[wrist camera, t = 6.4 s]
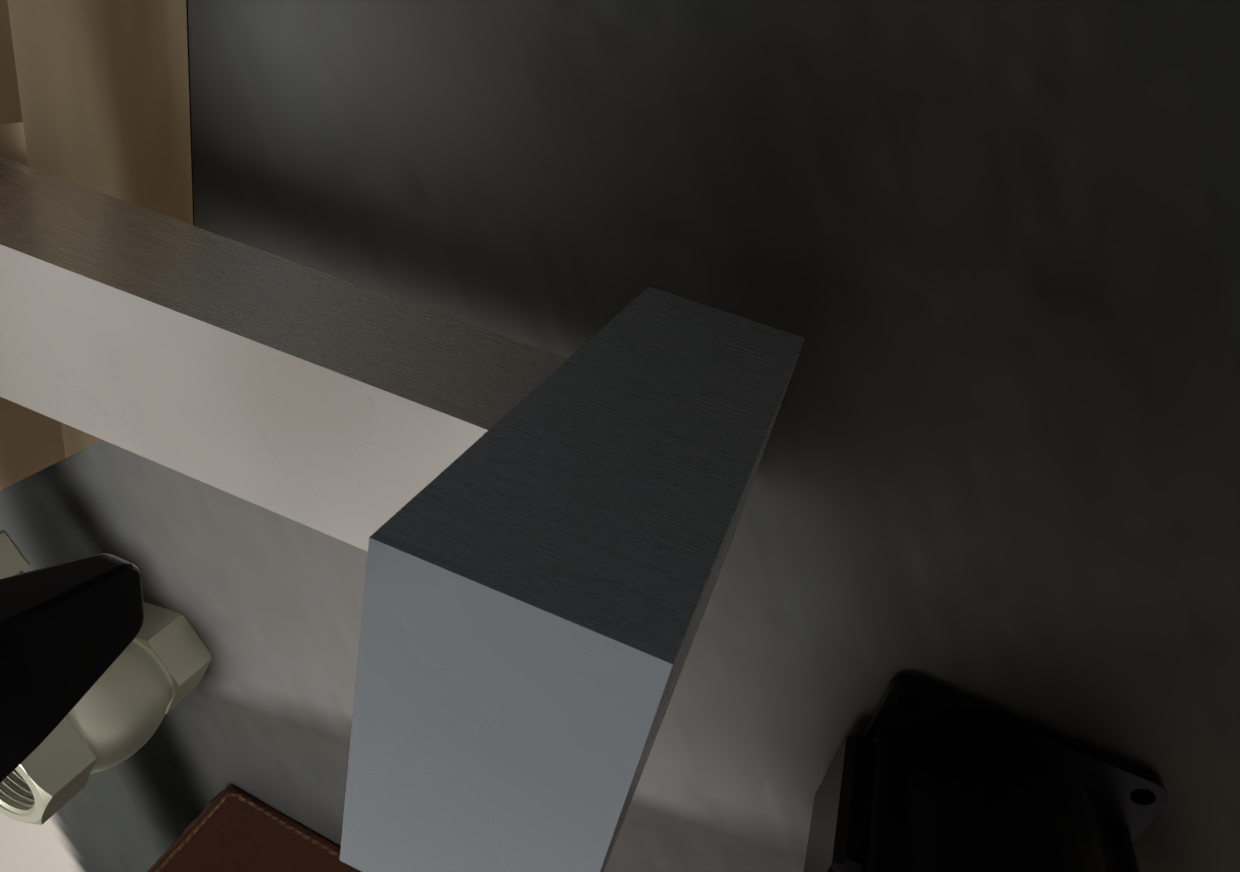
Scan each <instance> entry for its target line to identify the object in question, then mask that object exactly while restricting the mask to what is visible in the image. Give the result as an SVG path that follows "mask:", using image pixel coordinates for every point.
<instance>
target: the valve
mask: <svg viewBox="0 0 1240 872" xmlns="http://www.w3.org/2000/svg"><path fill="white" fill-rule="evenodd" d="M28 566H29V562H28V561H27V560H26V558H25V557H24V556H23V554H22V553H21V552H20V550H19V549H18V547H17V546H16V545H15V543H14V542H13V541H12V539H11V538H10V537H9V535H8V534H7V532H6V531H5V530H2V531H0V579H3V578H7V577H10V576H14V575H18V574H22V573H23V572H22V570H23V569H25V568H27V567H28ZM143 603H144V622H143V625H142V627H141V629H140V631H139V633H138V634H137V636H136V637H135V639H134V640H133V641H132V642H131V643H130V644H129V646H128V647H127V648H126V649H125V650H124V651H123V652H122V653H121V655H120V656H119V657H118V658H117V659H116V660H115V661H114V662H113V664H112V665H111V666H110V667H109V668H108V669H107V670H106V671H105V673H104V674H103V675H102V676H101V677H100V678H99V679H98V681H97V682H96V683H95V684H94V685H93V686H92V687H91V688H90V690H89V691H88V692H87V693H86V694H85V695H84V696H83V697H82V699H81V700H80V701H79V702H78V703H77V704H76V705H75V707H74V708H73V709H72V710H71V711H70V712H69V713H68V714H67V716H66V717H65V718H64V719H63V720H62V721H61V722H60V723H59V725H58V726H57V727H56V728H55V729H54V730H53V731H52V732H51V733H50V734H49V735H48V736H47V738H46V739H45V740H44V741H43V742H42V743H41V744H40V745H39V746H38V747H37V748H36V749H35V750H34V751H33V752H32V753H31V754H30V755H29V756H28V757H27V758H26V759H25V760H24V761H23V762H22V763H21V764H20V765H19V766H18V767H17V768H16V769H14V770H13V771H12V772H11V773H10V774H9V775H8V776H7V777H6V778H5V779H4V780H3V781H2V782H1V783H0V812H1V813H3V814H5V815H7V816H8V817H11V818H13V819H15V820H18V821H22V822H26V823H32V824H41V825H42V824H43V823H44V822H45V821H47V820H48V819H49V818H50V817H51V816H52V815H53V814H54V813H56V812H57V811H58V810H59V809H60V808H61V807H62V806H63V805H65V804H66V803H67V802H68V801H69V800H70V799H71V798H72V797H74V796H75V795H76V794H77V793H78V792H79V791H80V790H81V789H83V788H84V787H85V785H86V783H87V780H88V778H89V775H90V774H93V773H97V772H100V771H103V770H106V769H108V768H111V767H113V766H115V765H117V764H119V763H121V762H122V761H124V760H126V759H127V758H129V757H130V756H131V755H133V754H134V753H135V752H136V751H138V750H139V749H140V748H141V747H142V746H143V745H144V744H145V743H146V742H147V741H148V740H149V739H150V738H151V737H152V735H153V734H154V733H155V731H156V730H157V728H158V726H159V725H160V723H161V721H162V720H163V718H164V715H165V714H167V713H168V712H169V711H170V710H171V709H172V708H174V707H175V706H176V705H177V704H178V703H179V702H180V701H181V700H183V699H184V698H185V697H186V696H187V695H188V694H189V693H190V692H192V691H193V690H194V689H195V688H196V687H197V686H198V685H199V684H200V682H201V680H202V678H203V676H204V674H205V672H206V670H207V668H208V666H209V664H210V662H211V660H212V656H211V654H210V652H209V651H208V649H207V648H206V646H205V645H204V644H203V642H202V641H201V639H200V638H199V636H198V635H197V633H196V632H195V631H194V629H193V628H192V626H191V625H190V623H189V622H188V620H187V619H186V617H185V616H183V615H182V614H181V613H179V612H176V611H172V610H169V609H166V608H163V607H159V606H156V605H153V604H150V603H146V602H143Z"/></svg>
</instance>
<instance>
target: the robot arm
mask: <svg viewBox="0 0 1240 872" xmlns="http://www.w3.org/2000/svg"><path fill="white" fill-rule="evenodd" d="M143 622H144V603H143V591H142V579H141V573H140V570H139V569H138V567H137V566H136V565H134V564H133V563H130V562H128V561H126V560H124V559H121V558H119V557H117V556H115V555H112V554H107V553H102V554H96V555H91V556H88V557H84V558H80V559H76V560H72V561H68V562H64V563H61V564H57V565H53V566H49V567H45V568H41V569H37V570H34V571H30V572H26V573H22V574H18V575H14V576H10V577H7V578H3V579H0V783H1V782H2V781H3V780H4V779H5V778H6V777H7V776H8V775H9V774H10V773H11V772H12V771H13V770H14V769H16V768H17V767H18V766H19V765H20V764H21V763H22V762H23V761H24V760H25V759H26V758H27V757H28V756H29V755H30V754H31V753H32V752H33V751H34V750H35V749H36V748H37V747H38V746H39V745H40V744H41V743H42V742H43V741H44V740H45V739H46V738H47V736H48V735H49V734H50V733H51V732H52V731H53V730H54V729H55V728H56V727H57V726H58V725H59V723H60V722H61V721H62V720H63V719H64V718H65V717H66V716H67V714H68V713H69V712H70V711H71V710H72V709H73V708H74V707H75V705H76V704H77V703H78V702H79V701H80V700H81V699H82V697H83V696H84V695H85V694H86V693H87V692H88V691H89V690H90V688H91V687H92V686H93V685H94V684H95V683H96V682H97V681H98V679H99V678H100V677H101V676H102V675H103V674H104V673H105V671H106V670H107V669H108V668H109V667H110V666H111V665H112V664H113V662H114V661H115V660H116V659H117V658H118V657H119V656H120V655H121V653H122V652H123V651H124V650H125V649H126V648H127V647H128V646H129V644H130V643H131V642H132V641H133V640H134V639H135V637H136V636H137V634H138V633H139V631H140V629H141V627H142V625H143ZM903 694H912V695H914V696H916V697H917V698H915V699H906V698H904V697H902V696H901V695H903ZM1141 788H1143V789H1148V790H1147V791H1144V792H1137V791H1134V790H1135V789H1141ZM1167 801H1168V796H1167V792H1166V789H1165V786H1164V782H1163V780H1162V779H1161V777H1160V776H1159V775H1158V774H1157V773H1155V772H1153V771H1152V770H1150V769H1147V768H1144V767H1142V766H1139V765H1137V764H1134V763H1132V762H1129V761H1127V760H1124V759H1122V758H1119V757H1117V756H1114V755H1112V754H1109V753H1107V752H1104V751H1102V750H1099V749H1097V748H1094V747H1092V746H1089V745H1087V744H1084V743H1082V742H1079V741H1077V740H1074V739H1072V738H1069V737H1067V736H1064V735H1062V734H1059V733H1057V732H1054V731H1052V730H1049V729H1047V728H1044V727H1042V726H1039V725H1037V724H1034V723H1032V722H1029V721H1027V720H1024V719H1022V718H1019V717H1017V716H1014V715H1012V714H1009V713H1007V712H1004V711H1002V710H999V709H997V708H994V707H992V706H989V705H987V704H984V703H981V702H979V701H976V700H974V699H971V698H969V697H966V696H964V695H961V694H959V693H956V692H954V691H951V690H949V689H946V688H944V687H941V686H939V685H936V684H934V683H931V682H929V681H926V680H924V679H921V678H919V677H916V676H912V675H900V676H898V677H896V678H894V679H893V680H892V681H891V682H890V683H889V685H888V686H887V688H886V690H885V692H884V694H883V696H882V698H881V699H880V701H879V703H878V705H877V707H876V709H875V711H874V712H873V714H872V716H871V718H870V720H869V722H868V724H867V725H866V727H865V729H864V731H863V733H862V734H860V733H858V732H854V733H852V734H850V735H848V736H846V737H845V739H844V741H843V743H842V745H841V747H840V749H839V750H838V752H837V754H836V756H835V758H834V760H833V762H832V764H831V766H830V768H829V769H828V771H827V773H826V775H825V777H824V779H823V781H822V783H821V785H820V787H819V788H818V790H817V792H816V795H815V799H814V806H813V812H812V819H811V826H810V832H809V839H808V846H807V853H806V859H805V866H804V872H1140V869H1139V865H1138V861H1137V857H1136V853H1135V849H1134V846H1133V843H1134V842H1135V841H1136V840H1137V838H1138V837H1139V836H1140V835H1141V834H1142V833H1143V831H1144V830H1145V829H1146V828H1147V827H1148V826H1149V824H1150V823H1151V822H1152V821H1153V820H1154V819H1155V818H1156V816H1157V815H1158V814H1159V813H1160V812H1161V811H1162V809H1163V808H1164V807H1165V806H1166V804H1167Z"/></svg>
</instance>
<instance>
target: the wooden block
mask: <svg viewBox="0 0 1240 872" xmlns="http://www.w3.org/2000/svg"><path fill="white" fill-rule="evenodd" d="M0 157H3V158H6V159H8V160H11V161H14V162H17V163H20V164H22V165H25V166H28V167H31V168H34V169H36V170H39V171H42V172H45V173H48V174H50V175H53V176H56V177H59V178H62V179H64V180H67V181H70V182H73V183H76V184H78V185H81V186H84V187H87V188H90V189H92V190H95V191H98V192H101V193H104V194H106V195H109V196H112V197H115V198H118V199H120V200H123V201H126V202H129V203H132V204H134V205H137V206H140V207H143V208H146V209H148V210H151V211H154V212H157V213H160V214H162V215H165V216H168V217H171V218H174V219H176V220H179V221H182V222H185V223H188V224H190V225H193V201H192V170H191V138H190V107H189V76H188V45H187V14H186V0H0ZM100 441H102V439H100V438H97V437H95V436H93V435H90V434H88V433H85V432H83V431H81V430H78V429H76V428H74V427H71V426H69V425H66V424H64V423H62V422H59V421H57V420H55V419H52V418H50V417H47V416H45V415H43V414H40V413H38V412H36V411H33V410H31V409H29V408H26V407H24V406H21V405H19V404H17V403H14V402H12V401H10V400H7V399H5V398H2V397H0V490H2V489H4V488H6V487H8V486H10V485H12V484H14V483H16V482H18V481H21V480H23V479H25V478H27V477H29V476H31V475H33V474H35V473H37V472H39V471H41V470H43V469H45V468H47V467H49V466H51V465H53V464H55V463H57V462H59V461H61V460H63V459H65V458H67V457H69V456H71V455H74V454H76V453H78V452H80V451H82V450H84V449H86V448H88V447H90V446H92V445H94V444H96V443H98V442H100Z"/></svg>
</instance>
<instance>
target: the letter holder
mask: <svg viewBox="0 0 1240 872" xmlns="http://www.w3.org/2000/svg"><path fill="white" fill-rule="evenodd" d="M340 849H341V847H340V846H338V845H336V844H334V843H332V842H331V841H329V840H327V839H325V838H323V837H322V836H320V835H318V834H316V833H315V832H313V831H311V830H310V829H308V828H306V827H304V826H303V825H301V824H299V823H298V822H296V821H294V820H292V819H291V818H289V817H287V816H285V815H283V814H281V813H280V812H278V811H276V810H274V809H273V808H271V807H269V806H268V805H266V804H264V803H262V802H261V801H259V800H257V799H255V798H253V797H252V796H250V795H248V794H246V793H245V792H243V791H241V790H240V789H238V788H236V787H235V786H233V785H230V786H228V787H227V788H226V789H224V790H223V791H221V792H220V793H219V794H218V795H217V796H216V797H215V798H213V799H212V800H211V801H210V802H209V803H208V804H207V806H206V808H205V809H204V810H203V811H202V812H201V814H200V815H199V816H198V817H197V818H196V819H195V820H194V821H193V822H192V823H191V824H190V825H189V826H188V827H187V828H186V830H185V831H184V832H183V833H182V834H181V835H180V836H179V838H178V839H177V840H176V841H175V842H174V843H173V844H172V845H171V846H170V848H169V849H168V850H167V851H166V852H165V853H164V854H163V855H162V856H161V857H160V858H159V859H158V860H157V861H156V862H155V864H154V865H153V866H152V867H151V868H150V869H149V870H148V871H147V872H362V871H360V870H358V869H356V868H354V867H352V866H350V865H348V864H346V863H344V862H342V861H340Z"/></svg>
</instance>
